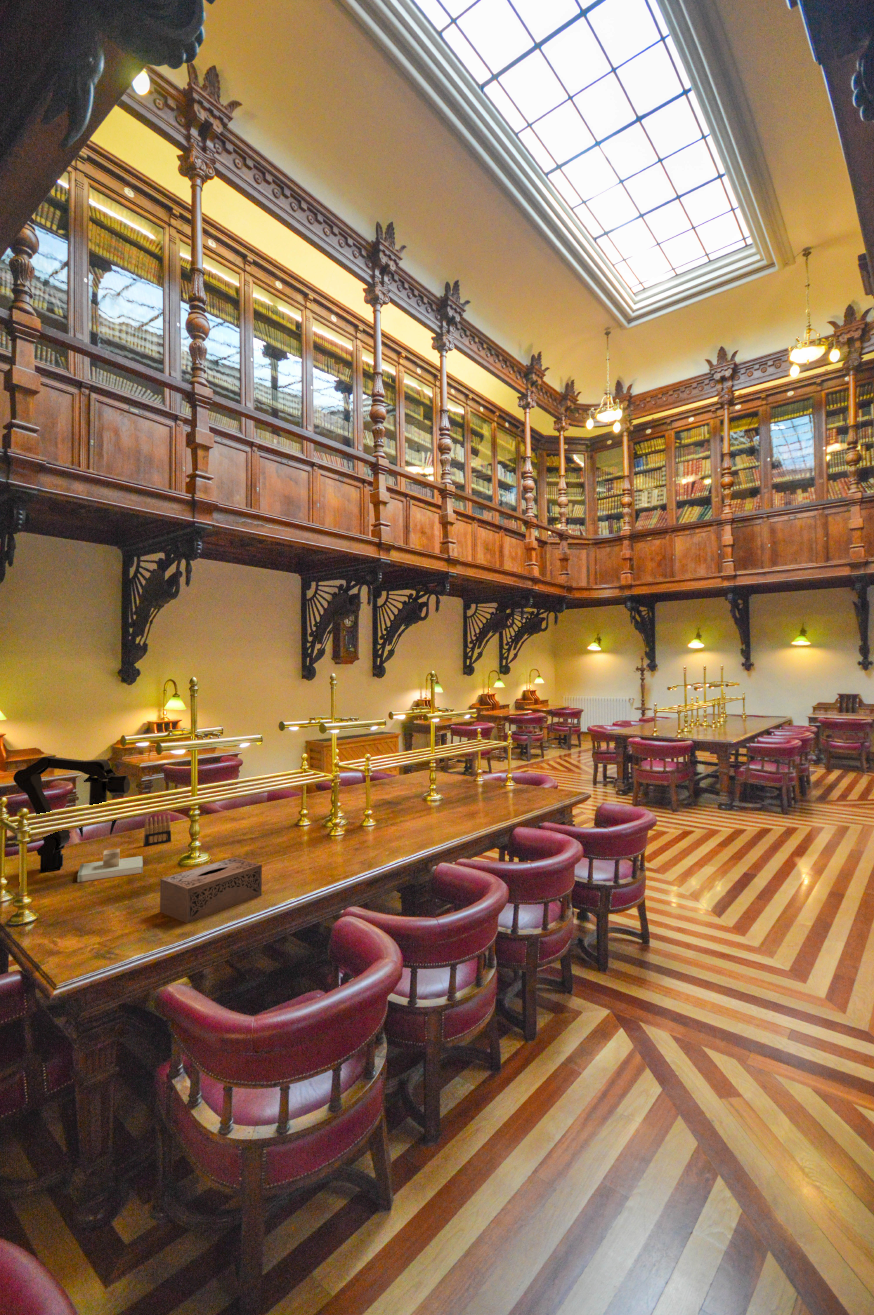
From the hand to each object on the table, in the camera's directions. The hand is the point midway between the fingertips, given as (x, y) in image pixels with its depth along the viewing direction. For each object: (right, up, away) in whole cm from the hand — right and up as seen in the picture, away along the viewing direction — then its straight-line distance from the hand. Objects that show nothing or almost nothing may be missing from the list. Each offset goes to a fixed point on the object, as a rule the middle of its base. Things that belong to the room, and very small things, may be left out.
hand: (96, 835), depth 212 cm
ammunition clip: (+8, -13, +30) cm, 34 cm away
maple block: (+9, -9, -6) cm, 14 cm away
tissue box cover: (+58, -10, -36) cm, 69 cm away
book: (+9, -12, -6) cm, 16 cm away
